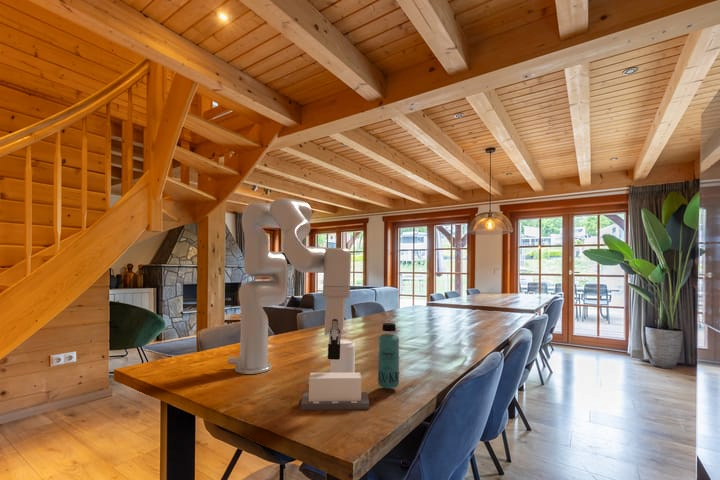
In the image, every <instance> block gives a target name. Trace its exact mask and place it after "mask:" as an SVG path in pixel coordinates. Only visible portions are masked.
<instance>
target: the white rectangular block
mask: <svg viewBox="0 0 720 480" xmlns="http://www.w3.org/2000/svg"><path fill="white" fill-rule="evenodd" d="M361 392H362V374H361V372H360V371H359V372H342V373H331V372H310V373H309V377H308V393H309V402H316V401H361Z"/></svg>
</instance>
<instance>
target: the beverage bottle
mask: <svg viewBox="0 0 720 480" xmlns="http://www.w3.org/2000/svg"><path fill="white" fill-rule="evenodd" d="M396 327H397V326H396V323H393V322H384V323H383V324H382V331H383V332H385V333H382V334H381V335H379V337H378V355H377V356H378V362H377V365H378V366H377V373H378V374H377V375H378V376H377V383H378V386H379V387H381V388H383V389H394V388H397V387H398V386H399V384H400V338H399V336H397V334H394V333H386V332H396V331H397V328H396Z"/></svg>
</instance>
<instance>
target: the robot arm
mask: <svg viewBox="0 0 720 480" xmlns="http://www.w3.org/2000/svg"><path fill="white" fill-rule="evenodd" d="M312 215H313V211H312V208H311V206H310V204H308V202H306V201H304V200H299V199H293V198H288V197H279V198H276V199H274V200H272V202H271V203H267V202H251V203H249V204H247V205H245V207H244V209H243V212H242V216H241V226H242V231H243V235H244V253H243V254H244V256H243V257H244V259H243V260H244V261H243V263H244V265H243V268H244V272H245V274H246V276H249V277H251V278H252V277H253V278H265V277H266V278H267V277H269V280H268V279H267V280H264V279H263V280H250V281H246V282H244V283H243V284H241V286H240V287H239V290H238V298H239V306H240V342H239V343H240V345H239V347H240V348H239V356H236V357H234V356H233V357H231V356H230V357H228V358H227V363H228V364H229V365H236V366H234V372H235V373H237V374H242V375H255V374H263V373H265V372H269V371H270V370H271V369H272V367H273V366H272V364H271V362H268V349H269V346H268V344H269V343H268V342H269V318H268V315H267V313H266V311H265V310H264V307H271V306H279V305H282V304H283V303H284V302H285V300H286V298H287V292H288V262H289V263H290V265H291V266H292V268H294V269H295V270H296V271H298V272H300V273H306V274H307V273H323V279H322V281H323V282H322V298H325V299H326V300H325V313H324V314H325V315H324V335H325V336H327V335H328V334H329V337H328V339H329V341H328V344H327V359H328V360H331V359H333V360H339V359H340V339H341V336H342V335H343V330H344V325H345V314H346V300H347V299H349V298H350V297H351V296H350V292H351V291H350V290H351V271H352V270H351V266H352V265H351V264H352V263H351V262H352V252H351V251H350V249H349V248H343V247H327V246H325V247H323V246H308V245H307V246H305V245H304V244H303V243H302V241H303V240H304V239H306V238H307V237H308V235H309V233H310V232H311V223H310V221H311V219H312ZM263 227H264V228H272V229H273V228H275V229H280V230H281V231H282V233H283V234H284V238H283V253H284V254H283V253H282V252H279V251H270V248H269V247H270V246H269V244H270V243H269V242H270V241H269V240H270V239H269V236H268V234H267V232H266V231H265V230H264V228H263ZM287 261H288V262H287Z"/></svg>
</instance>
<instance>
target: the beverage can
mask: <svg viewBox="0 0 720 480" xmlns="http://www.w3.org/2000/svg"><path fill="white" fill-rule="evenodd" d="M355 351H356V345H355V343H354V340H352V339H348V338H340V359H339V360H333V359H330V373H342V372H355V367H356V366H355V365H356V364H355V362H356V361H355V360H356V359H355V358H356V357H355V356H356V353H355Z"/></svg>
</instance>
